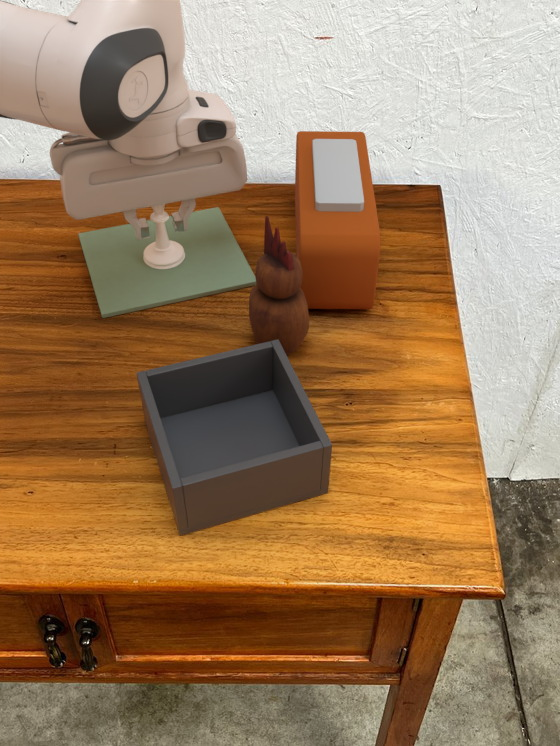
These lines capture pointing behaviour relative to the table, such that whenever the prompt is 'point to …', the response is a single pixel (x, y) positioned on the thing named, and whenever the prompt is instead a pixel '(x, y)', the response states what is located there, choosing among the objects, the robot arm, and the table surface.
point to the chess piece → (162, 244)
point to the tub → (233, 435)
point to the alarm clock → (336, 220)
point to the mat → (164, 286)
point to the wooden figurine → (278, 296)
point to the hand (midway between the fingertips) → (161, 232)
